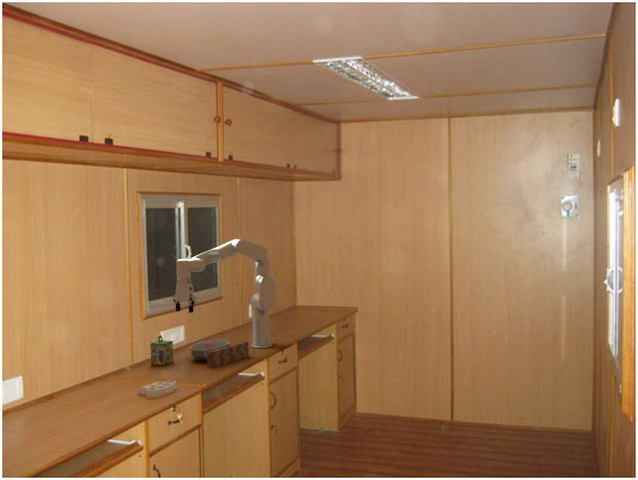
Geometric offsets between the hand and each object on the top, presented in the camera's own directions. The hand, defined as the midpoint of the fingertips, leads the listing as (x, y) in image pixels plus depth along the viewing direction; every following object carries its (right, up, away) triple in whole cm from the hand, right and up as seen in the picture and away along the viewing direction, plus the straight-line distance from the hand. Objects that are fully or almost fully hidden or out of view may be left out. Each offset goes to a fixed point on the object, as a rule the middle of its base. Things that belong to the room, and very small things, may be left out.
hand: (184, 311), depth 384 cm
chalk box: (-8, -26, -18) cm, 32 cm away
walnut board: (+27, -25, -17) cm, 40 cm away
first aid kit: (+15, -25, -7) cm, 30 cm away
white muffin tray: (+3, -29, -74) cm, 80 cm away
